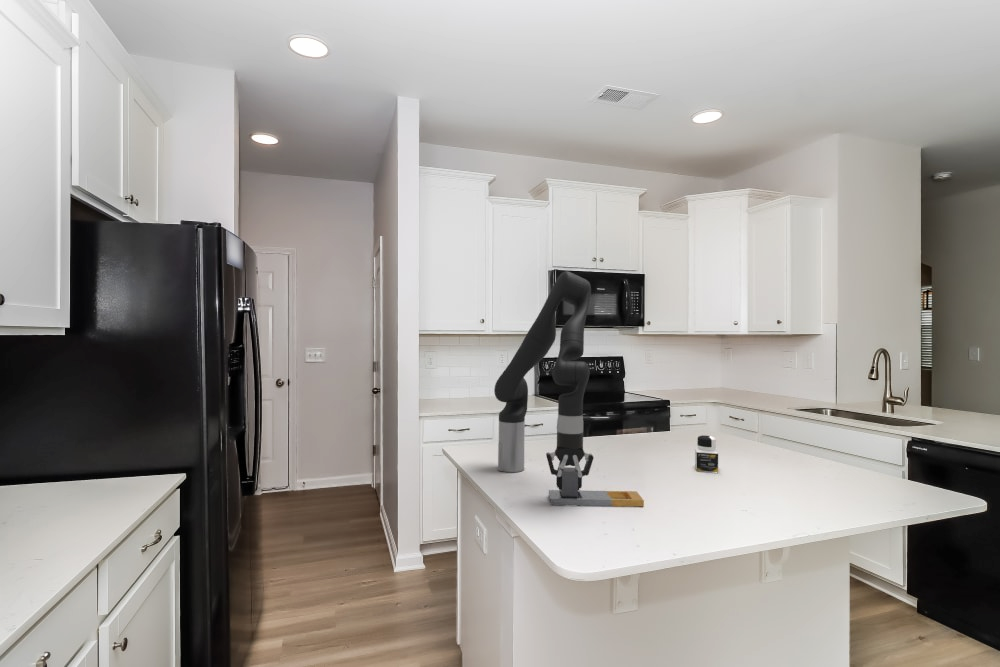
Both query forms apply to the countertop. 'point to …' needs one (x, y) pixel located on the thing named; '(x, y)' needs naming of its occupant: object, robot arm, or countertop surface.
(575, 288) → the robot arm
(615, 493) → the rail
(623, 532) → the countertop surface
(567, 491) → the grey rectangular block
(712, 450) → the medicine bottle
